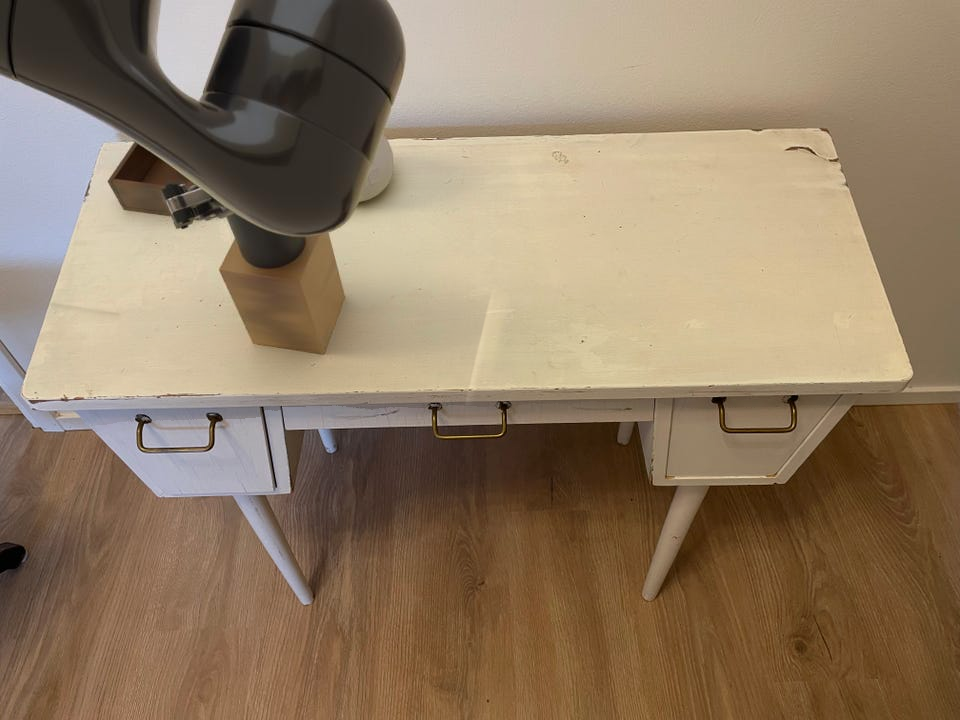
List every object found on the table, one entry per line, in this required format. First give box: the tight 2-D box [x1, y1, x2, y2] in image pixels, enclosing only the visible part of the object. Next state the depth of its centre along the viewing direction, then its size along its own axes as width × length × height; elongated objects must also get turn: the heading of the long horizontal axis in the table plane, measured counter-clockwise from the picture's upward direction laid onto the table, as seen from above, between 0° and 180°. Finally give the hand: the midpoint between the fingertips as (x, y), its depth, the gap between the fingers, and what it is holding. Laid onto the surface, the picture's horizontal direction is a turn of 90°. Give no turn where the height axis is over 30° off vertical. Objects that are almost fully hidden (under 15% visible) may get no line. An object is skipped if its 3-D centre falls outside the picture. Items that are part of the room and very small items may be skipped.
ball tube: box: [225, 214, 306, 269], centre depth 66 cm, size 6×6×10 cm
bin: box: [107, 141, 200, 221], centre depth 90 cm, size 10×10×5 cm
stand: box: [218, 232, 346, 355], centre depth 75 cm, size 8×8×12 cm
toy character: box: [359, 133, 395, 203], centre depth 87 cm, size 10×10×12 cm
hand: (257, 187), depth 60 cm, fingers open, 8 cm apart
